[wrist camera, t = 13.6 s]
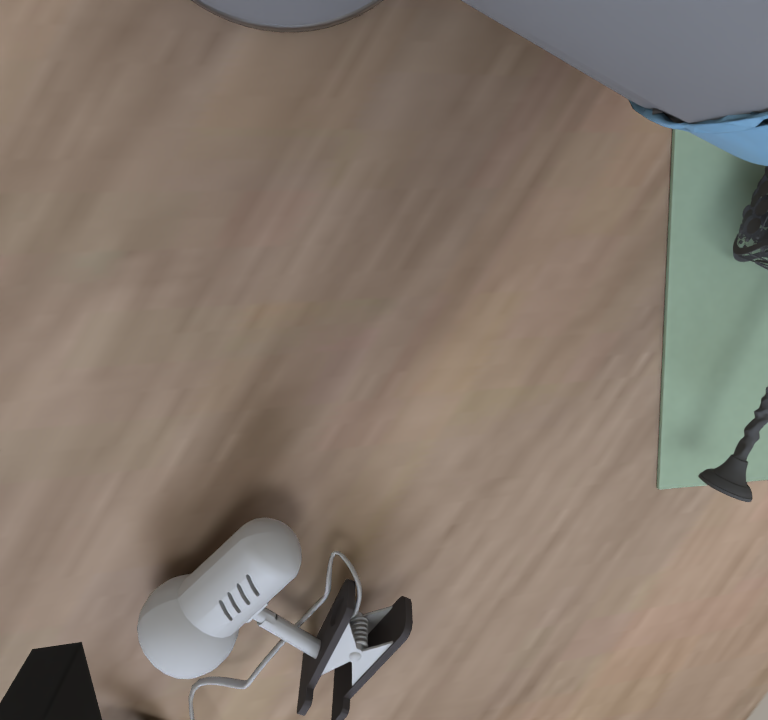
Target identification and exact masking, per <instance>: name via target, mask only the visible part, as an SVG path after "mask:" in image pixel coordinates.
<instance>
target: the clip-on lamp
mask: <svg viewBox="0 0 768 720" xmlns="http://www.w3.org/2000/svg"><path fill="white" fill-rule="evenodd" d="M336 554H337V555H339V556H340V557H341V558H342V559H343V560H344V562H345V563H346V564H347V566H348V568H349V569H350V571H351V573H352V575H353V577H354V579H355V581H352V580H349V579H346V580H345V581H344V583H343V585H342V587H341V589H340V591H339V593H338V595H337V597H336V599H335V601H334V603H333V605H332V607H331V609H330V611H329V613H328V615H327V617H326V619H325V621H324V623H323V625H322V627H321V629H320V631H319V633H318V635H317V637H314V636H312V635H311V634H309V633H307V632H306V631H304V630H302V629H301V628H299V627H300V626H301V625H302V624H303V623H304V622H305V621H306V620H307V619H308V618H309V617H310V616H311V615H312V614H313V613H314V612H315V611H316V610H317V608H318V607H319V606H320V605H321V604H322V603H323V602H324V601H325V600H326V599H327V597H328V595H329V593H330V591H331V577H332V564H333V559H334V556H335V555H336ZM301 561H302V554H301V546H300V543H299V540H298V538H297V536H296V534H295V533H294V532H293V530H292V529H291V528H290V527H289V526H287V525H286V524H285V523H283V522H281V521H279V520H277V519H272V518H266V517H265V518H257V519H253V520H251V521H249V522H247V523H246V524H244V525H243V526H242V527H241V528H240V529H239V530H238V531H236V532H235V533H234V534H233V535H232V536H231V537H230V538H229V539H228V540H227V541H226V542H225V543H224V544H223V545H222V546H220V547H219V548H218V549H217V550H216V551H215V552H214V553H213V554H212V555H211V556H210V557H209V558H208V559H207V560H205V561H204V562H203V563H202V564H201V565H200V566H199V567H198V568H197V569H196V570H195V571H194V572H193V573H192V574H186V575H182V576H178V577H174V578H171V579H169V580H168V581H166V582H165V583H163V584H162V585H161V586H159V587H158V588H157V589H155V590H154V591H153V592H152V593H151V595H150V596H149V597H148V599H147V601H146V602H145V604H144V606H143V608H142V609H141V612H140V615H139V620H138V626H137V631H138V638H139V643H140V645H141V647H142V650H143V652H144V654H145V655H146V657H147V658H148V659H149V660H150V662H151V663H152V664H153V665H154V666H155V667H156V668H157V669H159V670H160V671H162V672H163V673H164V674H166V675H169V676H172V677H175V678H177V679H191V678H196V677H199V676H201V675H204V674H206V673H209V672H211V671H212V670H214V669H215V668H217V667H218V666H219V665H220V664H221V663H222V662H223V661H224V660H225V659H226V657H227V656H228V655H229V654H230V652H231V651H232V649H233V646H234V644H235V641H236V639H237V636H238V632H239V628H240V627H241V626H242V625H243V624H244V623H246V622H247V623H249V622H250V621H251V620H252V619H254V620H256V621H257V624H258V625H259V626H260V627H262V628H264V629H265V630H267V631H269V632H270V633H272V634H274V635H276V636H277V637H279V638H281V640H280V641H279V642H278V643H277V644H276V646H275V647H274V648H273V649H272V650H271V651H270V652H269V654H268V655H267V656H266V657H265V658H264V660H263V661H262V662H261V663H260V664H259V666H258V667H257V668H256V669H255V671H254V672H253V673H252V675H251V676H250V678H249V679H248V680H239V679H234V678H227V677H206V678H202V679H199V680H198V681H197V682H196V683H195V684H193V685H192V688H191V691H190V694H189V712H190V719H191V720H194V712H193V702H192V701H193V697H194V693H195V691H196V690H197V689H198V688H199V687H200V686H203V685H220V686H226V687H231V688H236V689H245V688H247V687H248V686H249V685H250V684H251V683H252V682H253V680H254V679H255V678H256V676H257V675H258V674H259V672H260V671H261V670H262V669H263V668H264V666H265V665H266V664H267V663H268V662H269V660H270V659H271V658H272V657H273V656H274V655H275V653H276V652H277V651H278V650H279V649H280V648H281V647H282V646H283V644H284V643H285V642H287V643H289V644H291V645H293V646H294V647H296V648H298V649H299V650H301V651H303V652H304V653H303V661H302V670H301V679H300V688H299V697H298V706H297V714H300V715H303V716H304V715H305V714H306V713H307V711H308V710H309V708H310V706H311V703H312V699H313V690H314V688H315V686H316V684H317V682H318V680H319V678H320V677H321V675H323V674H325V673H327V672H329V671H331V670H333V669H335V673H334V688H333V704H332V719H331V720H344V719H345V718H346V717H347V715H348V713H349V708H350V699H351V698H352V697H353V695H354V694H355V693H356V692H357V691H358V690H359V689H360V688H361V687H362V686H363V685H364V684H365V683H366V682H367V681H368V680H369V679H370V678H371V677H372V676H373V674H374V673H375V672H376V671H377V670H378V669H379V668H380V667H381V666H382V665H383V664H384V663H385V662H386V661H387V660H388V659H389V658H390V657H391V656H392V655H393V653H394V652H395V651H396V650H397V649H398V648H399V647H400V646H401V645H402V644H403V643H404V642H405V641H406V640H407V638H408V637H409V635H410V632H411V629H412V623H413V621H412V603H411V599H409V598H406V597H404V596H401V597H400V598H399V599H398V600H397V601H396V602H395V603H394V604H393V605H392V606H390V607H386V608H383V609H379V610H376V611H373V612H369V613H366V614H362V613H361V612H358V610H359V606H360V602H361V596H362V588H361V582H360V579H359V576H358V574H357V572H356V570H355V568H354V567H353V565H352V564H351V562H350V561H349V560H348V559H347V557H346V556H345V555H344V554H342V553H341V552H339V551H334V552H333V553H332V554H331V556H330V559H329V563H328V569H327V577H326V588H325V593H324V595H323V596H322V597H321V598H320V599H319V600H318V601H317V602H316V603H315V604H314V605H313V606H312V607H311V608H310V609H309V610H308V611H307V612H306V613H305V614H304V615H303V616H302V618H301V619H300V620H299V621H298V622H297V623H296V624H295V625H294V624H292V623H291V622H289V621H287V620H286V619H284V618H282V617H281V616H279V615H277V614H275V613H274V612H272V611H270V610H269V609H267V608H266V606H267V605H268V602H269V601H270V600H271V599H272V598H273V597H274V596H275V595H276V594H277V593H278V592H279V591H281V590H282V589H283V588H284V587H285V586H286V585H287V584H288V583H289V582H290V581H291V580H293V579H294V578H295V577H296V576H297V574H298V571H299V568H300V565H301ZM355 583H356V586H357V600H356V602H355Z"/></svg>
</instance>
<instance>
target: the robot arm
mask: <svg viewBox="0 0 768 720" xmlns="http://www.w3.org/2000/svg"><path fill="white" fill-rule="evenodd" d="M192 1H193V2H194V3H196V4H197V5H199V6H200V7H202V8H204V9H206V10H208V11H209V12H211V13H213V14H215V15H217V16H219V17H222V18H224V19H226V20H228V21H231V22H234V23H237V24H240V25H243V26H246V27H250V28H255V29H259V30H265V31H274V32H304V31H314V30H318V29H323V28H328V27H331V26H334V25H337V24H341V23H344V22H346V21H348V20H351V19H353V18H355V17H357V16H360V15H361V14H363V13H365V12H366V11H368V10H370V9H372V8H373V7H375V6H376V5H378V4H379V3H380V2H382V1H383V0H192ZM461 1H463V2H465V3H466V4H468V5H470V6H471V7H473V8H475V9H477V10H478V11H480V12H482V13H483V14H485V15H487V16H488V17H490V18H492V19H493V20H495V21H497V22H499V23H500V24H502V25H504V26H505V27H507V28H509V29H510V30H512V31H514V32H515V33H517V34H519V35H520V36H522V37H524V38H526V39H527V40H529V41H531V42H532V43H534V44H536V45H537V46H539V47H541V48H542V49H544V50H546V51H548V52H549V53H551V54H553V55H554V56H556V57H558V58H559V59H561V60H563V61H564V62H566V63H568V64H570V65H571V66H573V67H575V68H576V69H578V70H580V71H581V72H583V73H585V74H586V75H588V76H590V77H592V78H593V79H595V80H597V81H598V82H600V83H602V84H603V85H605V86H607V87H608V88H610V89H612V90H614V91H615V92H617V93H619V94H620V95H622V96H624V97H625V98H627V99H629V101H630V103H631V106H632V108H633V109H634V110H635V111H637V112H638V113H640V114H641V115H643V116H644V117H646V118H647V119H648V120H650V121H653V122H655V123H657V124H659V125H661V126H664V127H668V128H672V129H678V130H683V131H687V132H690V133H692V134H694V135H695V136H697V137H699V138H701V139H703V140H705V141H707V142H709V143H711V144H713V145H715V146H716V147H718V148H720V149H722V150H724V151H726V152H728V153H730V154H732V155H734V156H736V157H738V158H740V159H743V160H745V161H748V162H751V163H755V164H759V165H763V166H768V0H461ZM0 720H102V718H101V714H100V710H99V706H98V702H97V699H96V695H95V691H94V687H93V683H92V680H91V676H90V672H89V668H88V664H87V661H86V657H85V653H84V649H83V645H82V642H79V643H72V644H65V645H58V646H51V647H45V648H38V649H32V651H31V652H30V654H29V656H28V657H27V659H26V661H25V663H24V664H23V666H22V668H21V669H20V671H19V673H18V674H17V676H16V678H15V679H14V681H13V683H12V684H11V686H10V688H9V689H8V691H7V693H6V694H5V696H4V698H3V699H2V701H1V703H0Z"/></svg>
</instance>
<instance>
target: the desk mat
mask: <svg viewBox="0 0 768 720" xmlns="http://www.w3.org/2000/svg"><path fill="white" fill-rule="evenodd" d="M765 167H766V166H763V165H759V164H755V163H751V162H748V161H745V160H743V159H740V158H738V157H736V156H734V155H732V154H730V153H728V152H726V151H724V150H722V149H720V148H718V147H716V146H715V145H713V144H711V143H709V142H707V141H705V140H703V139H701V138H699V137H697V136H695V135H694V134H692V133H690V132H687V131H683V130H678V129H673V132H672V155H671V177H670V200H669V222H668V245H667V267H666V290H665V312H664V335H663V357H662V380H661V402H660V425H659V448H658V470H657V488H658V489H669V488H681V487H692V486H703V485H707V484H706V483H704V482H703V481H702V480H701V479H700V478H699V474H700V473H701V472H703V471H704V470H706V469H710V468H713V469H715V468H717V467H719V466H720V465H722V464H723V463H724V462H725V461H726V460H727V459H728V458H729V457H730V455H731V454H732V455H733V454H734V451H735V448H736V446H737V444H738V443H739V441H740V439H742V438H743V437H744V429H745V427H746V426H747V425H748V424H749V423H750V422H751V421H752V420H753V419H754V418H755V415H754V411H755V410H757V409H759V407H760V404H761V398H762V397H763V396H765V394H766V387H768V270H767V269H765V268H763V267H761V266H759V265H757V264H756V263H755V262H752V261H747V262H739V261H737V260H735V259H734V256H733V244H734V240H735V238H736V236H737V234H739V229H740V225H741V224H742V220H743V216H742V214H743V210H744V208H745V207H746V206H747V205H750V204H751V201H752V200H751V199H752V195H753V193H754V191H755V190H756V189H757V185H758V183H759V181H760V180H761V179H762V177H763V176H764V174H765ZM766 195H768V193H767V194H766ZM761 197H762V196H761ZM767 212H768V211H767ZM764 226H765V225H764ZM760 228H762V227H761V226H760ZM763 229H765V230H766V229H768V227H763ZM739 235H740V234H739ZM738 238H739V237H738ZM744 238H746V237H744ZM744 238H743V240H742V239H740V238H739V239H738V241H737V245H738V246H739V247H740V248H743V246H744V244H745V245H746V244H747V245H746V246H747V247H749V246H752V245H754V244H757V243H754V241H753V240H752V238H751V239H750V240H749V242H746V243H745V239H744ZM740 240H742V241H743V243H742V244H739V243H738V242H739V241H740ZM748 243H749V244H748ZM753 243H754V244H753ZM760 251H761V249H758V250H755V251H753V252H752V253H751V254H755V253H758V252H760ZM761 252H762V251H761ZM747 255H749V254H745V255H744V256H747ZM761 258H763V257H761ZM763 259H766V260H767V259H768V258H763ZM755 260H760V259H754V261H755ZM760 263H762V262H760ZM763 264H766V265H768V264H767V263H763ZM764 266H765V265H764ZM766 267H768V266H766ZM759 434H760V438H759V440H758V441H757V442H756V443H755V444H754V446H753V448H752V450H751V451H750V453H749V455H748V457H747V460H746V461H748V465H747V469H746V482H748V481H760V480H768V423H767V424H766V425H764V426H763V428H762V429H761V430H760V432H759Z"/></svg>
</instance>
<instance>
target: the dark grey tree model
mask: <svg viewBox="0 0 768 720" xmlns="http://www.w3.org/2000/svg"><path fill="white" fill-rule="evenodd" d="M767 193H768V166H766V167H765V174H764V176H763V177H762V179H761V180H760V181H759V183H758V185H757V189H756V190H755V191H754V193H753V195H752V199H751V200H752V201H751V204H750V205H747V206H746V207H745V208H744V210H743V214H742V216H743V220H742V224H741V225H740V229H739V234H740V235H739V234H737V236H736V238H735V240H734V244H733V256H734V259H735V260H737V261H739V262H747V261H752V262H755V263H756V264H757V265H759V266H761V267H763V268H765V269H767V270H768V267H766V266H768V265H766V264H763V263H767V264H768V259H767V260H766V259H763V258H768V229H766V230H765V229H763V227H768V212H767V211H768V195H766V194H767ZM761 196H762V197H761ZM764 225H765V226H764ZM760 226H761V227H762V228H760ZM738 237H739V238H740V239H742V240H743V238H744V237H746V238H744V239H745V243H746V242H749V240H750V239H751V238H752V240H753V241H754V243H757V244H754V243H753V244H754V245H752V246H749V247H747V246H746V245H747V244H746V245H745V244H744V246H743V248H740V247H739V246H738V245H737V241H738V239H739V238H738ZM742 240H740V241H739V242H738V243H739V244H742V243H743V241H742ZM748 244H749V243H748ZM758 249H761V251H762V252H761V251H760V252H758V253H755V254H751V253H752V252H753V251H755V250H758ZM745 254H749V255H747V256H744V255H745ZM761 257H763V258H761ZM754 259H760V260H755V261H754ZM760 262H762V263H760ZM764 265H765V266H764ZM754 415H755V418H754V419H753V420H752V421H751V422H750V423H749V424H748V425H747V426H746V427H745V429H744V437H743V438H742V439H740V441H739V443H738V444H737V446H736V448H735V451H734V454H733V455H732V454H731V455H730V457H729V458H728V459H727V460H726V461H725V462H724V463H723V464H722V465H720V466H719V467H717V468H715V469H713V468H710V469H706V470H704V471H703V472H701V473H700V474H699V478H700V479H701V480H702V481H703V482H704V483H706V484H707V485H709V486H711V487H712V488H714V489H716V490H718V491H720V492H722V493H724V494H726V495H728V496H730V497H733V498H735V499H738V500H741V501H745V502H751V500H752V492H751V489H750V487H749V486H748V485H747V482H746V469H747V465H748V461H746V460H747V457H748V455H749V453H750V451H751V450H752V448H753V446H754V444H755V443H756V442H757V441H758V440H759V438H760V434H759V432H760V430H761V429H762V428H763V426H764V425H766V424H767V423H768V387H766V394H765V396H763V397H762V398H761V404H760V407H759V409H757V410H755V411H754Z"/></svg>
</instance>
